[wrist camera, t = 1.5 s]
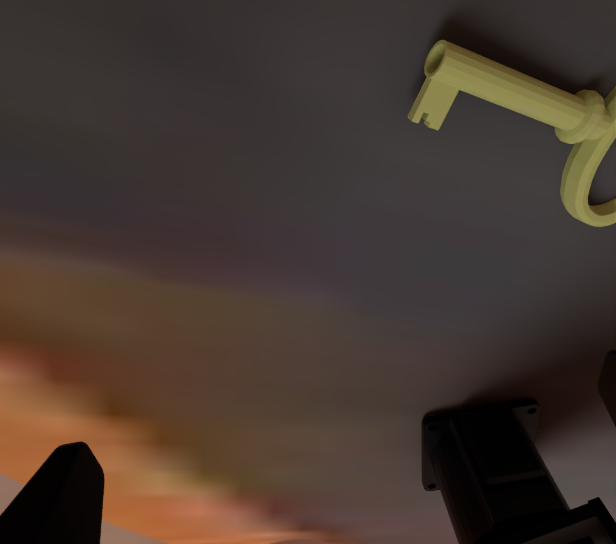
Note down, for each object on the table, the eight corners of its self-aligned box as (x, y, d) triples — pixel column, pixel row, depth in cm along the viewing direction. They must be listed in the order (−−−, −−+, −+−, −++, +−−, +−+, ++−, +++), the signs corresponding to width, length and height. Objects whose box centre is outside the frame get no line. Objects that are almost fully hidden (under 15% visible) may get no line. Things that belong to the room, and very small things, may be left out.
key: (408, 30, 17) (426, 41, 16) (734, 40, 19) (785, 52, 17) (381, 217, 21) (393, 243, 20) (651, 215, 23) (685, 239, 21)
